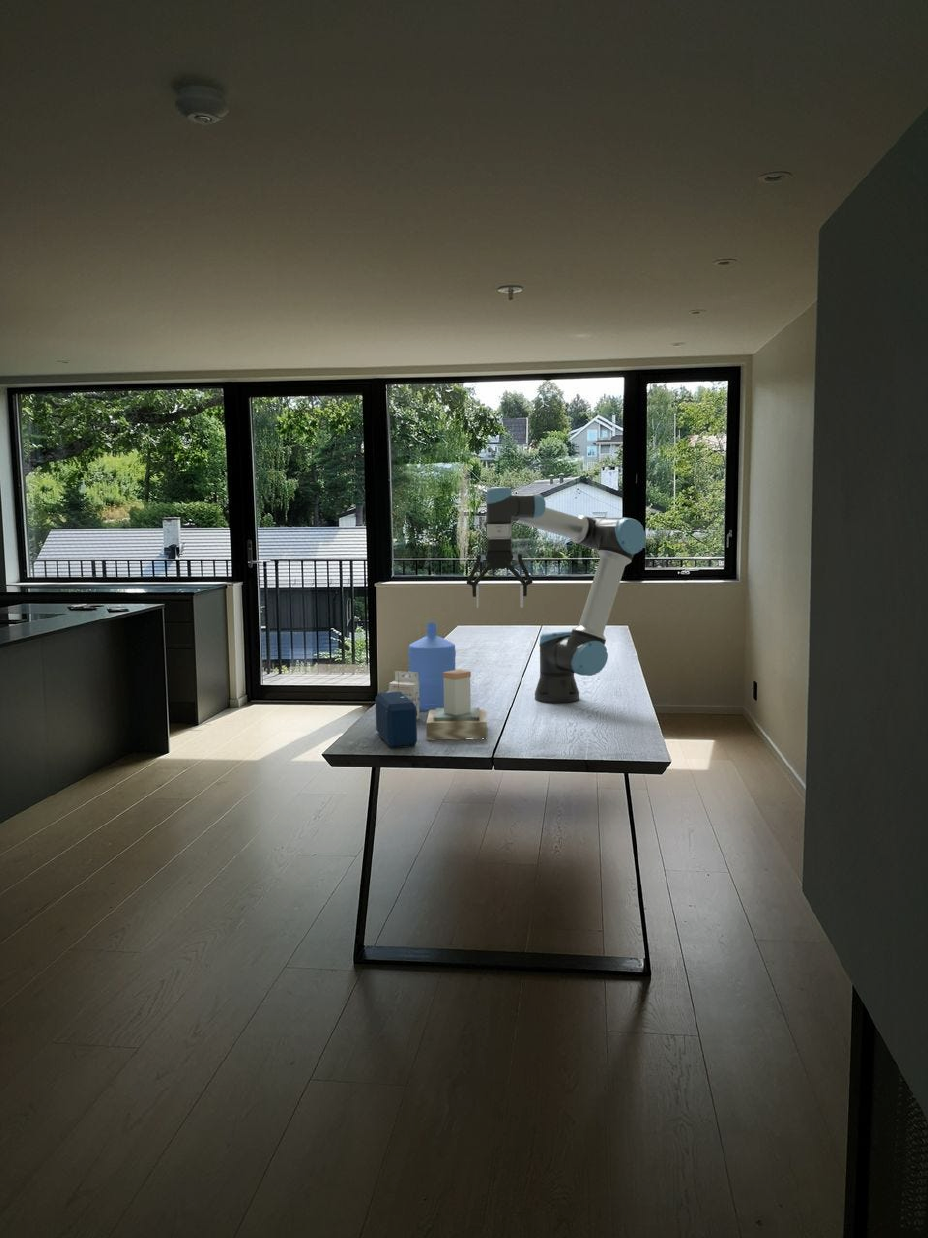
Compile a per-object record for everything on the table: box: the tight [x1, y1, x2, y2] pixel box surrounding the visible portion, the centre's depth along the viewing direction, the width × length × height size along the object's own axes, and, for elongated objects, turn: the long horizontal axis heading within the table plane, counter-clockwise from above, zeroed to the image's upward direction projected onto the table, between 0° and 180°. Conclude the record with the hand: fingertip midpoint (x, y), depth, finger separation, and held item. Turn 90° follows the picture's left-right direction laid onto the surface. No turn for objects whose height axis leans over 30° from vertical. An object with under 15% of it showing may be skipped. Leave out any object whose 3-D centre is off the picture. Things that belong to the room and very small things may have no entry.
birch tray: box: [425, 706, 488, 741], centre depth 269 cm, size 17×17×6 cm
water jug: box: [407, 622, 457, 713], centre depth 303 cm, size 16×16×28 cm
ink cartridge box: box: [388, 670, 420, 720], centre depth 287 cm, size 9×5×15 cm, turn 71°
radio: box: [375, 674, 418, 749], centre depth 261 cm, size 21×9×20 cm, turn 17°
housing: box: [443, 669, 472, 715], centre depth 268 cm, size 5×6×12 cm
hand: (499, 607), depth 284 cm, fingers open, 13 cm apart
